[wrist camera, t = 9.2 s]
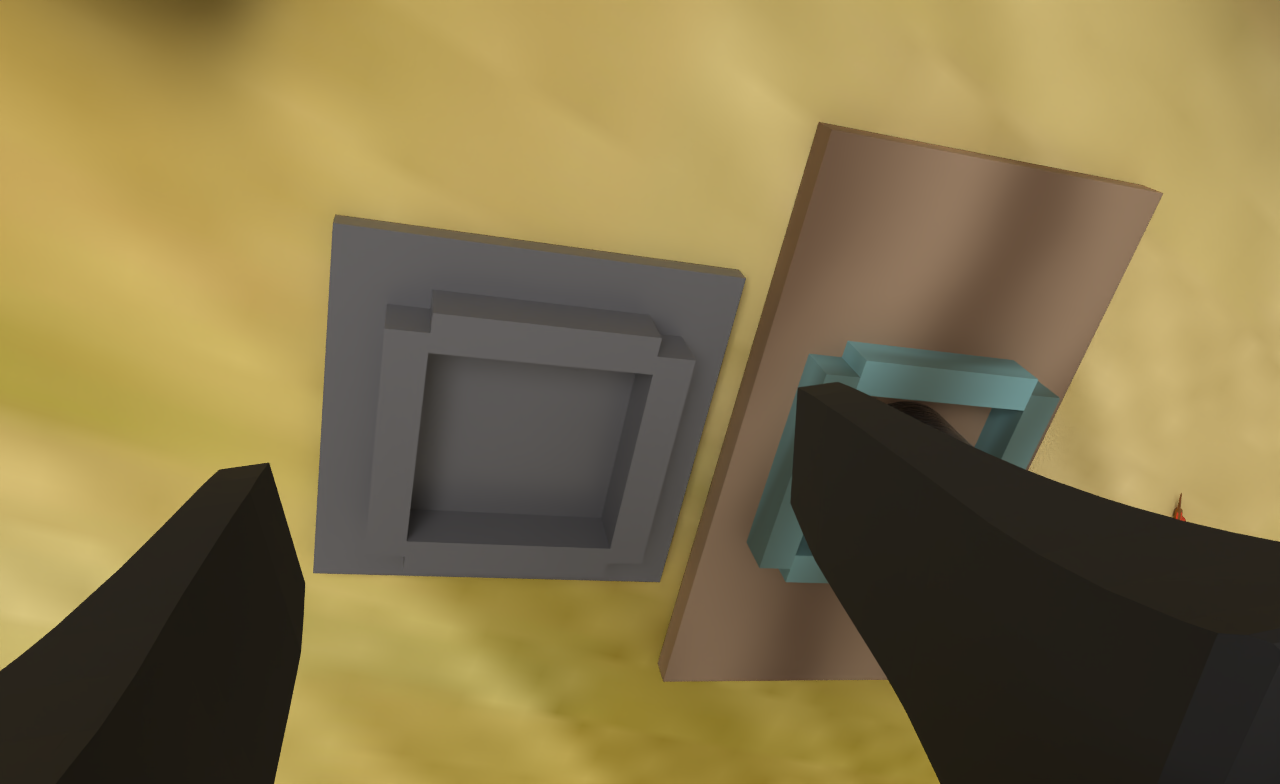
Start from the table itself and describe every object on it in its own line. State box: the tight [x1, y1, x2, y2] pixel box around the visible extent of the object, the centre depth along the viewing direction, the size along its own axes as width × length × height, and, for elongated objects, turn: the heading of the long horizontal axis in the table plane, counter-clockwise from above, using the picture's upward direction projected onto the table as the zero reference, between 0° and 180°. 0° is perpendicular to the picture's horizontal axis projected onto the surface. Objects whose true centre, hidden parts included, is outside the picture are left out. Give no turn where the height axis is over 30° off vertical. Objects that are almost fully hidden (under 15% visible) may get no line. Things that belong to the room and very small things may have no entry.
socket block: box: [313, 215, 746, 582], centre depth 23 cm, size 10×10×2 cm
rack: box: [658, 122, 1163, 681], centre depth 26 cm, size 10×18×2 cm, turn 168°
